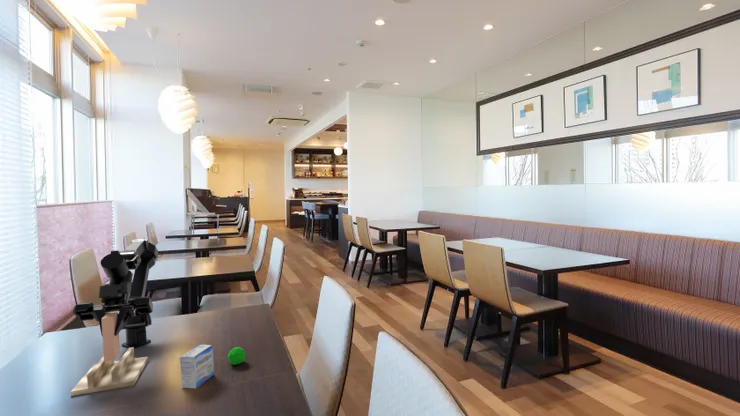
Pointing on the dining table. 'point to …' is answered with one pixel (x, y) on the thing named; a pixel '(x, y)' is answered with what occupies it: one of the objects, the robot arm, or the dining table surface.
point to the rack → (111, 374)
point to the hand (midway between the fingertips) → (109, 336)
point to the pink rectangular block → (110, 337)
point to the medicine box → (196, 366)
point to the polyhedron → (236, 356)
